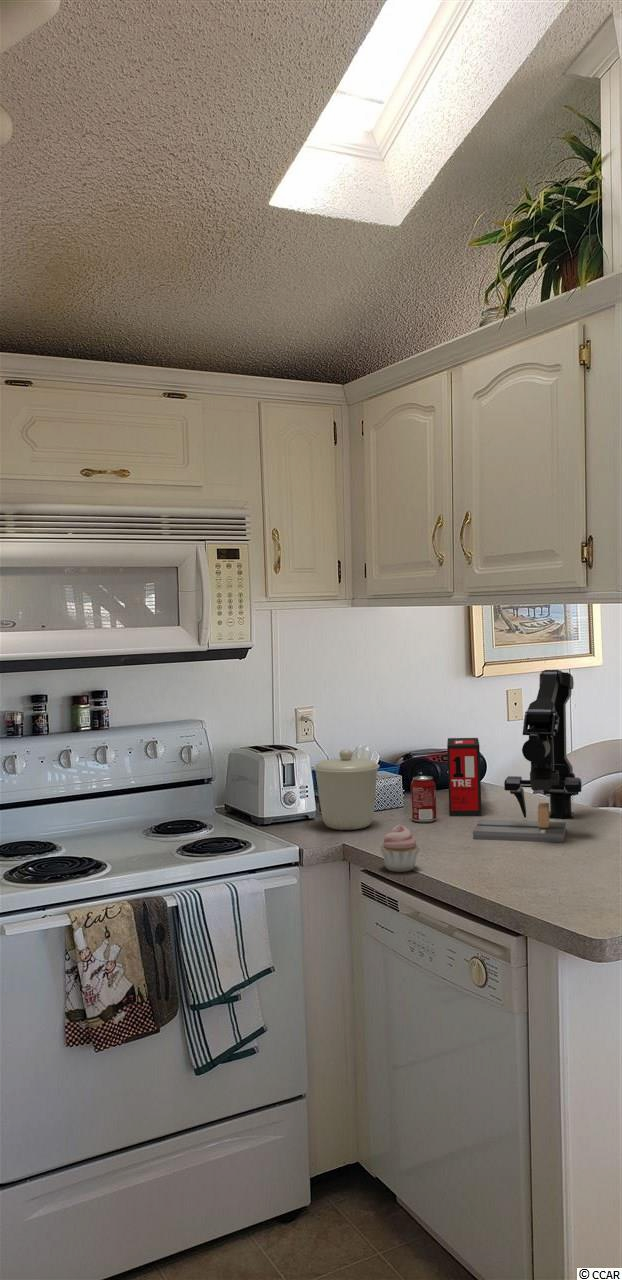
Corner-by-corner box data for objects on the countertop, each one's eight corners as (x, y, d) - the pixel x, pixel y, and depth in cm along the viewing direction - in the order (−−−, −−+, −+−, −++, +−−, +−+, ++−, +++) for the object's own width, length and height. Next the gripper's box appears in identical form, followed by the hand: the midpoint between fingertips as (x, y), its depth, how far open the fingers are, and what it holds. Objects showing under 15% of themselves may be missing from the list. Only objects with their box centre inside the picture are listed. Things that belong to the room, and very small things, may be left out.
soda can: (435, 823, 254) (434, 779, 253) (410, 823, 255) (409, 779, 255) (437, 818, 260) (436, 775, 260) (413, 818, 262) (411, 775, 261)
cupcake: (387, 876, 203) (385, 830, 203) (374, 865, 212) (372, 821, 212) (427, 872, 205) (426, 826, 205) (413, 861, 214) (411, 818, 214)
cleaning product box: (449, 804, 279) (447, 738, 279) (480, 804, 278) (478, 737, 277) (449, 816, 263) (447, 745, 262) (481, 816, 261) (479, 745, 261)
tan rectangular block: (540, 827, 240) (539, 802, 239) (549, 827, 239) (549, 803, 239) (538, 832, 234) (537, 807, 234) (548, 832, 233) (547, 807, 233)
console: (480, 826, 248) (480, 818, 248) (566, 829, 241) (565, 820, 241) (473, 838, 235) (472, 829, 235) (563, 842, 228) (563, 832, 228)
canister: (316, 835, 245) (313, 755, 244) (313, 820, 263) (311, 746, 262) (385, 832, 245) (382, 752, 245) (377, 818, 263) (375, 743, 263)
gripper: (501, 760, 231) (503, 823, 231) (579, 761, 225) (581, 826, 226) (505, 754, 242) (507, 814, 242) (580, 755, 236) (582, 816, 236)
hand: (543, 818), depth 236 cm, fingers open, 9 cm apart
